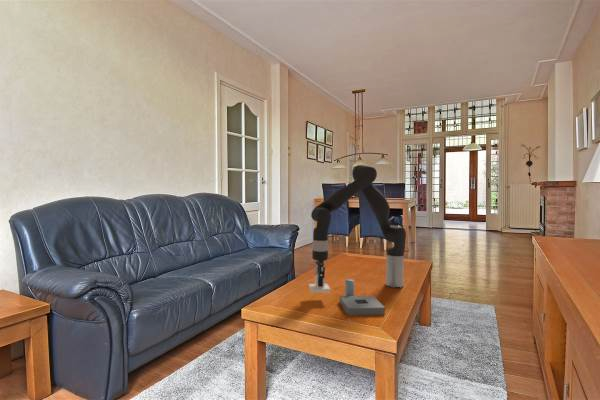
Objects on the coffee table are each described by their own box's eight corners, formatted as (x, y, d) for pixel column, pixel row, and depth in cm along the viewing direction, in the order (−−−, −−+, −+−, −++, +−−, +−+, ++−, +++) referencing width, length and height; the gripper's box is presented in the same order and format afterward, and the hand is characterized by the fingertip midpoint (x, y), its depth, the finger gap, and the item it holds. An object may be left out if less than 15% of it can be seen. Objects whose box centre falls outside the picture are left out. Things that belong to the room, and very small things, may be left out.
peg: (344, 297, 162) (344, 279, 162) (352, 297, 163) (352, 279, 162) (346, 300, 158) (346, 281, 158) (354, 300, 159) (355, 281, 158)
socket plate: (339, 302, 155) (339, 296, 155) (372, 301, 156) (372, 295, 156) (348, 315, 139) (348, 308, 139) (384, 314, 141) (384, 307, 140)
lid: (308, 286, 162) (309, 273, 161) (327, 286, 163) (327, 273, 162) (311, 292, 153) (311, 278, 153) (330, 292, 154) (330, 278, 153)
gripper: (330, 252, 150) (330, 289, 151) (325, 246, 165) (324, 280, 165) (314, 252, 150) (313, 289, 150) (310, 246, 164) (309, 281, 164)
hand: (319, 284), depth 158 cm, fingers closed on lid, 4 cm apart
